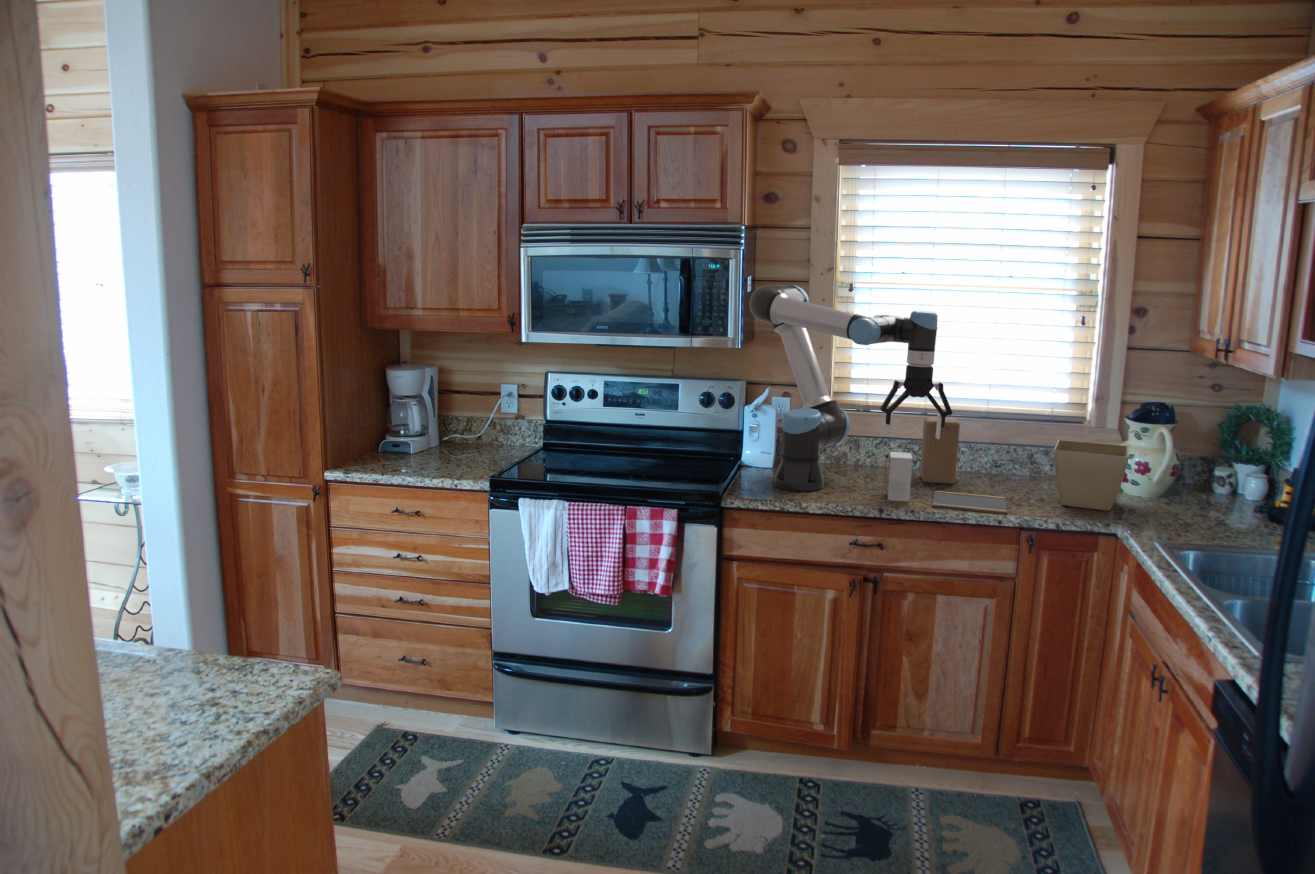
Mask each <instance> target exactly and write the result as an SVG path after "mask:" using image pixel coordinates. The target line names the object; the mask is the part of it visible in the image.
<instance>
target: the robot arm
mask: <svg viewBox="0 0 1315 874" xmlns="http://www.w3.org/2000/svg"><path fill="white" fill-rule="evenodd" d="M749 309H750V313H751V314H752V316H753V317H754V318H755V319H756V320H758V321H760V322H762V323H763V322H764V323H769V324H771V326H772V329H773V332H775V333H777V334H779V335H780V337H781V341H782V344H783V346H784V350H785V353H786V356H787V359H788V362H789V364H790V365H789V366H790V368H791V372H792V375H793V377H794V380H795V383H796V386H797V389H798V392H799V395H800V398H801V401H802V403H803V405H802V407H801V408H794V409H791V410H788V411H786V412H785V413H784V415H783V417H782V424H781V430H782V431H781V432H782V433H781V457H780V463H779V465H778V468H777V469H776V474H775V476H774V486H775V487H777V488H779V489H782V490H787V491H793V492H815V491H820V490H822V489H824V487H825V479H824V474H823V471H822V467H821V464H820V454H821V452H820V451H821V449H823V448H824V449H825V448H826V447H833V446H835V445H837V444H840V443H841V442H843V441H844V440H845V439H847V437H848V435H849V432H850V429H851V420H850V417H849V415H848V413H847V412H846V411H845V410H843V409H842V408H840V407H839V405H838V403H837V399H836V398H834V397H832V396H830V394H829V390H828V388H827V385H826V382H825V379H824V375H823V374H822V370H821V367H820V364H819V361H818V358H817V355H816V352H815V349H814V346H813V343H812V340H811V337H810V334H809V331H808V330H811V331H816V332H820V333H823V334H827V335H831V336H835V337H839V338H843V339H848V340H851V341H852V342H854V343H855V344H857V345H861V346H870V345H874V344H882V343H902V344H903V343H904V344H907V353H906V354H907V355H906V363H907V365H906V368H905V369H906V370H905V379H904V381H900V380H899V381H898V380H897V379H895V380H894V381H893V384H892V388H891V390H890V391H889V392H888V395H887V396H886V398H885V399H884V400H883V403H882V404H881V406H880V408H879V409H880V411H881V412H883V413H885V424H886V425H888V431H887V435H888V437H893V429H894V428H893V426H894V413H893V412H894V411H895V410H896V409H898V407H899V406H900V405H901V404H902V403H903V402H904V401H905V400H906V399H908V398H909V397H912V398H925V397H926V398H927V399H928V400H929V401H930V403H931V404H932V405H933V406H934V408H935V409H936V410H937V413H939V415H936V417H937V426H936V438H937V439H940V430H941V427H944V426H945V417H949V416H952V415H953V410H952V409H951V406H950V404H949V403H950V402H949V400H948V399H947V396H946V394H945V391H944V383H942V381H939V382H934V383H933V376H934V367H933V365H934V364H935V363H934V362H935V354H936V353H935V351H936V342H937V333H938V332H937V331H938V314H937V313H936V312H934V311H929V310H913V311H911V313H910V316H899V315H898V316H895V315H889V314H882V315H881V314H880V315H879V314H878V315H874V317H873V316H867V315H862V314H858V313H853V312H849V311H845V310H841V309H838V308H833V307H828V306H824V305H819V304H815V303H812V302H811V303H810V298H809V296H808V293H807V292H806V291H805V290H804V288H802V287H800V286H798V285H795V284H790V283H784V284H765V285H762V286H760V287H758V288H756V289H755V290H754V291H753V292H752V293H751V295H750V299H749ZM902 387H903V388H904V389H905V391H903V392H902V394H901V395H900V396H899V397H898V398H896V400H894V401H893V403H892V404H890V403H891V401H892V400H893V398H894V397H895V395H896V394H897V392H898V390H899V389H901V388H902ZM933 388H935V390H936V391H938V394H939V397H940V399H941V402H942V404H943V406H944V408H945V410H943V408H942V407H941V406H940V404H939V403H938V402H937V400H936V399H935V398H934V397H933V395H932V394H931V391H932V390H933Z"/></svg>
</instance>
